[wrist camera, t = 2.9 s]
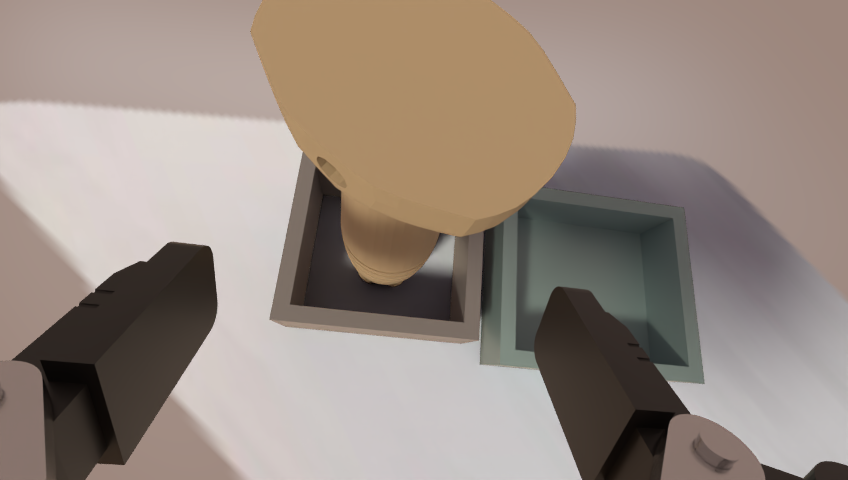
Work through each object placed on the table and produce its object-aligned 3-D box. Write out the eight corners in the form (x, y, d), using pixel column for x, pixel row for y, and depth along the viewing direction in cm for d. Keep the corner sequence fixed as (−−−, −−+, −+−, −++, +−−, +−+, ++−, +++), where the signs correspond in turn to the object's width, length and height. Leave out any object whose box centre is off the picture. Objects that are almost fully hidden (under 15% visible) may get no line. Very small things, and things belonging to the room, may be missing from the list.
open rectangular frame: (469, 202, 23) (486, 176, 20) (461, 343, 21) (478, 340, 18) (312, 181, 23) (302, 150, 19) (285, 326, 20) (269, 319, 17)
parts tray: (643, 227, 25) (684, 207, 22) (656, 380, 22) (704, 383, 19) (486, 206, 24) (505, 182, 20) (479, 364, 21) (499, 364, 18)
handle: (370, 192, 23) (377, -87, 9) (456, 266, 22) (617, 97, 8) (308, 253, 21) (194, 37, 7) (399, 334, 21) (472, 274, 7)
